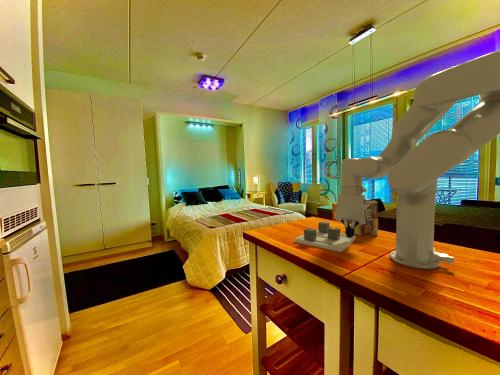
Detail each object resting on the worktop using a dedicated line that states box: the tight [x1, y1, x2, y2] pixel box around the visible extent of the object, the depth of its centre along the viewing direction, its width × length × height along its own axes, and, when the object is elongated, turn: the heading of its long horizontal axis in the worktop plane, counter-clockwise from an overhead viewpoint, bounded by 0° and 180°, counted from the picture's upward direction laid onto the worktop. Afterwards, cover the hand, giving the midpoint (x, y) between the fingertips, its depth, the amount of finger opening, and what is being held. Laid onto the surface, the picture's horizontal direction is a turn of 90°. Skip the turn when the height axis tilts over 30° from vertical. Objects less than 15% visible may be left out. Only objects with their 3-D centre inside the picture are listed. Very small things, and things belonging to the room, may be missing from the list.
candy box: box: [354, 200, 379, 236], centre depth 97 cm, size 9×4×15 cm, turn 79°
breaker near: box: [303, 227, 317, 241], centre depth 88 cm, size 4×3×4 cm
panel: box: [294, 228, 357, 253], centre depth 91 cm, size 19×18×2 cm
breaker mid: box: [328, 226, 341, 240], centre depth 88 cm, size 4×3×4 cm
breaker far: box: [317, 221, 331, 233], centre depth 98 cm, size 4×3×4 cm
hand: (349, 236), depth 84 cm, fingers closed
